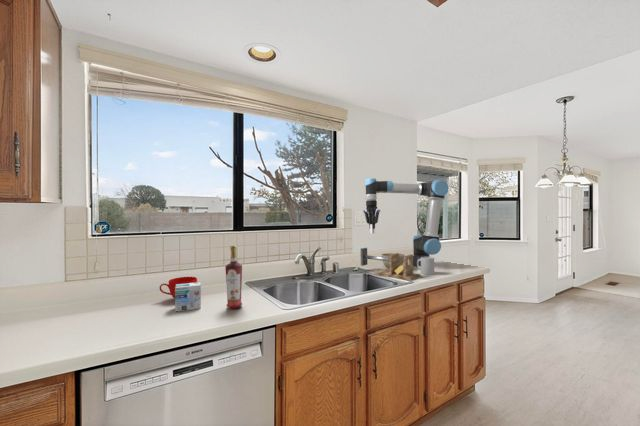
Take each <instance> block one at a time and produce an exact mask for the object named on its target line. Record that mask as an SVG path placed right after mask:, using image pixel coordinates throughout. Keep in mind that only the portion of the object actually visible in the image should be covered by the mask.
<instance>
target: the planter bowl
mask: <svg viewBox="0 0 640 426" xmlns="http://www.w3.org/2000/svg"><path fill="white" fill-rule="evenodd" d="M391 254H395V253H392V252H391V253H382V254H381V257H388V258H389V255H391ZM403 256H406V255H405V254H402V253H399V266H401V265H402V264H403ZM394 258H395V257H394ZM382 263H383V265H384V267H385V269H387V270H389V261H382ZM394 263H395V262H394Z"/></svg>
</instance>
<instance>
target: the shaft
mask: <svg viewBox="0 0 640 426" xmlns="http://www.w3.org/2000/svg"><path fill="white" fill-rule="evenodd" d="M368 260H373V261H374V260H375V261H381V262H383V261H389V258H388V257H382V256H378V255H369V254H368V247H363V248H360V266H362V267H363V266H367V265H368ZM395 261H396V259H395V258H394V262H395Z"/></svg>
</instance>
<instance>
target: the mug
mask: <svg viewBox="0 0 640 426" xmlns="http://www.w3.org/2000/svg"><path fill="white" fill-rule="evenodd" d="M419 261H421V267H420V266H419ZM416 267H417V268H418V269H420V274H421V275H422V276H435V258H434V257H433V256H430V257H421V259H418V261H417V266H416Z"/></svg>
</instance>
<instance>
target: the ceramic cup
mask: <svg viewBox="0 0 640 426" xmlns="http://www.w3.org/2000/svg"><path fill="white" fill-rule="evenodd" d="M196 282H198V278H197V277H196V276H181V277H175V278H171V279H169V280H168V283H161V284H160V285H159V291H160V292H161V293H162V294H166V295H171V296H172V298H173V299H174V300H175V287H176V284H186V283H196ZM162 286H165V287H166V286H167V287H168V289H169V292H166V291H164V290H163V288H162Z"/></svg>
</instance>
